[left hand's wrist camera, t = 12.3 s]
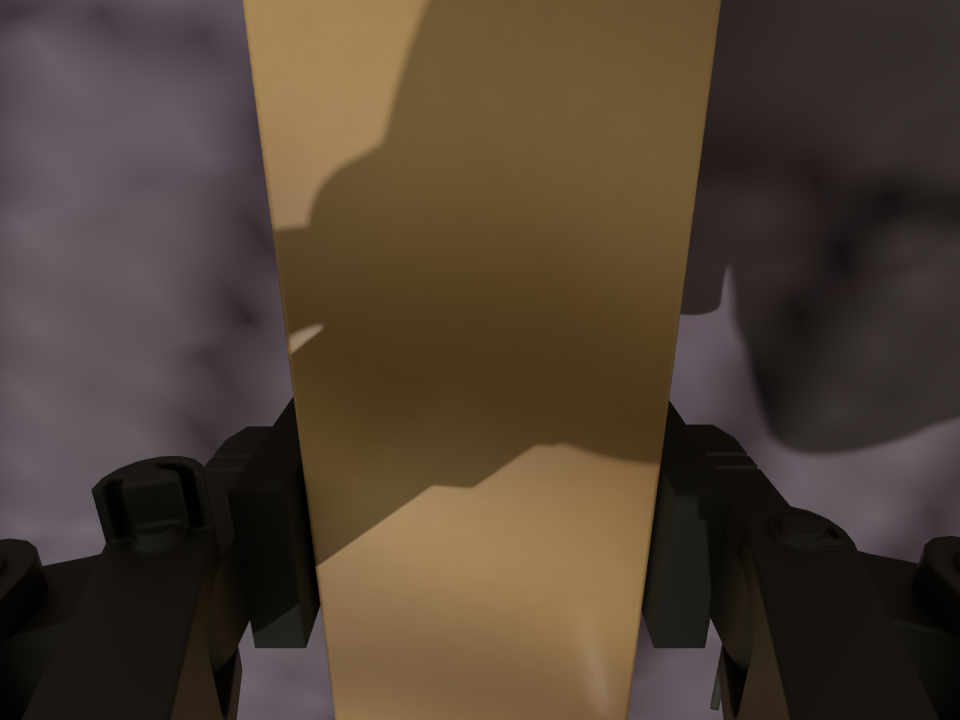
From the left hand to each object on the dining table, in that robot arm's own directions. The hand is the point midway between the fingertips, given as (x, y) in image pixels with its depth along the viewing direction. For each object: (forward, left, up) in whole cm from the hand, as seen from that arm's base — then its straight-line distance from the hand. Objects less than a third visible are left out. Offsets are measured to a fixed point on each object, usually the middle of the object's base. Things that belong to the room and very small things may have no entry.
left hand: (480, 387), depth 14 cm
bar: (+34, 0, -1) cm, 34 cm away
